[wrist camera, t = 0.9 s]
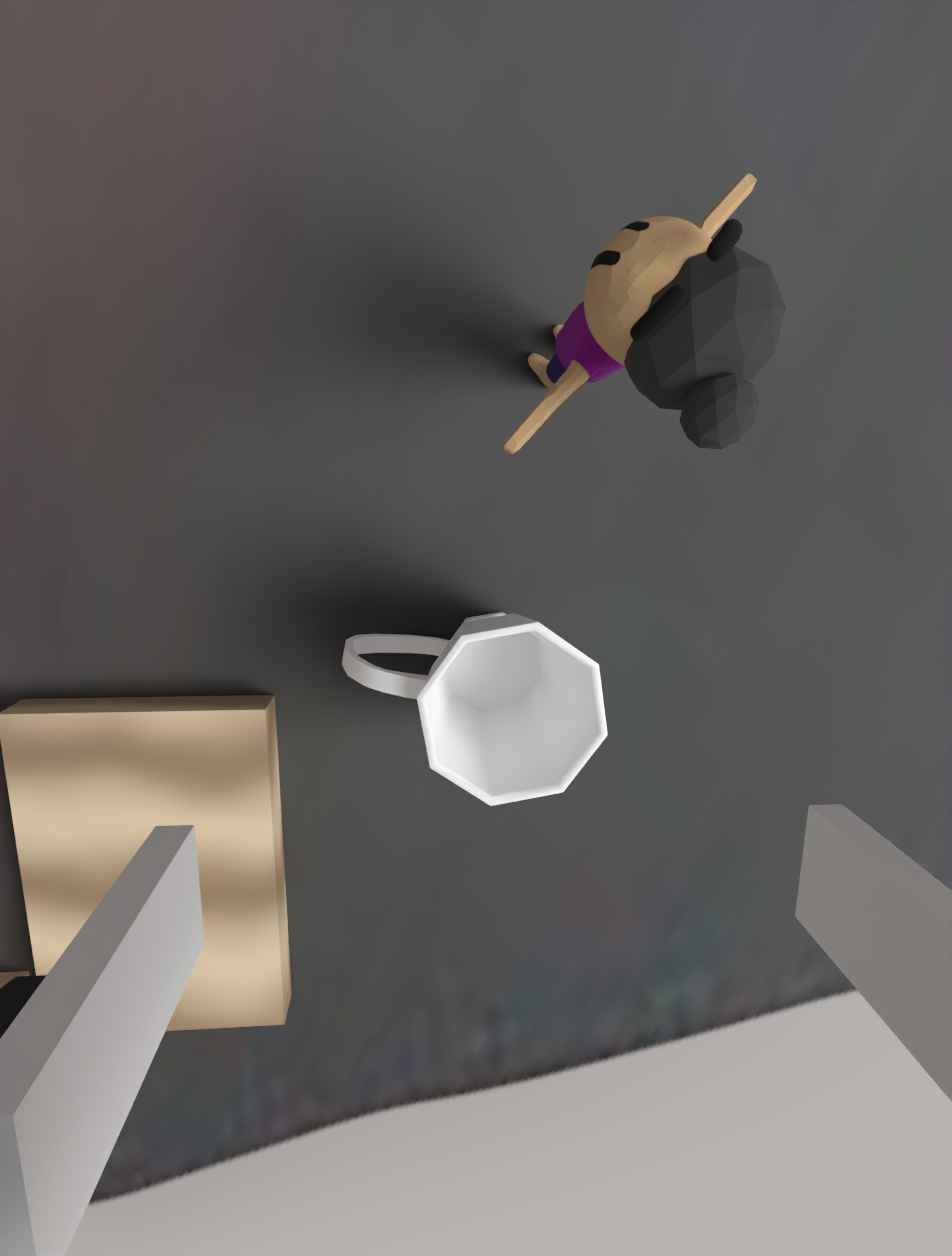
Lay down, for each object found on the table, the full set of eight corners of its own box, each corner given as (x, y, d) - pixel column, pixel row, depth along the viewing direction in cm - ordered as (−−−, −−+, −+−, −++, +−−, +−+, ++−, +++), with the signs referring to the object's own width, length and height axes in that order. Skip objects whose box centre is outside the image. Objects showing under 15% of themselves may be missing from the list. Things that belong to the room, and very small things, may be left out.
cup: (544, 740, 34) (582, 823, 26) (337, 700, 33) (312, 774, 25) (582, 600, 32) (634, 643, 25) (367, 552, 31) (350, 581, 23)
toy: (617, 233, 29) (820, -1, 14) (706, 332, 30) (977, 207, 16) (448, 426, 30) (477, 389, 16) (539, 513, 31) (647, 555, 17)
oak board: (22, 698, 31) (-4, 714, 29) (274, 694, 32) (265, 709, 30) (66, 1005, 35) (45, 1037, 33) (291, 994, 36) (284, 1024, 34)
